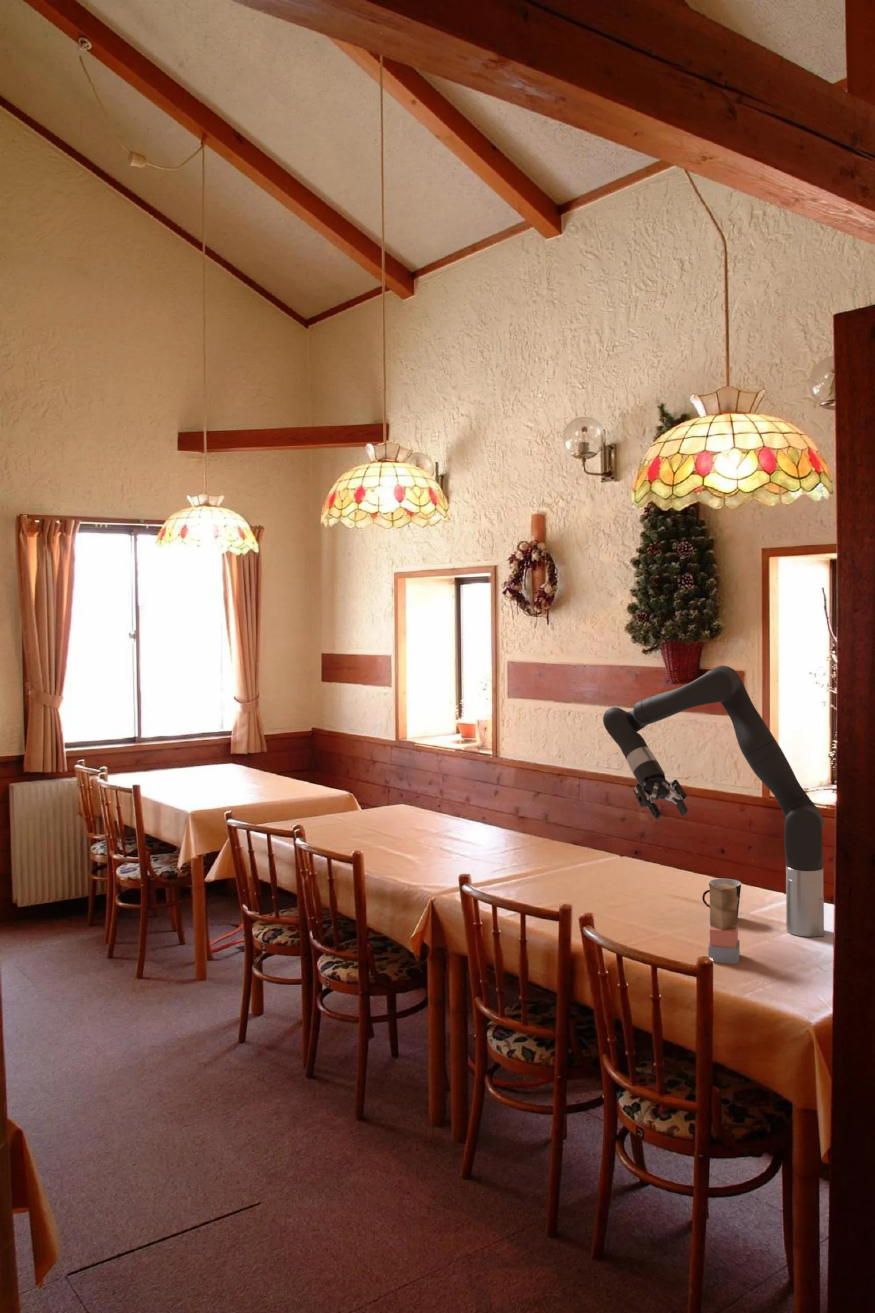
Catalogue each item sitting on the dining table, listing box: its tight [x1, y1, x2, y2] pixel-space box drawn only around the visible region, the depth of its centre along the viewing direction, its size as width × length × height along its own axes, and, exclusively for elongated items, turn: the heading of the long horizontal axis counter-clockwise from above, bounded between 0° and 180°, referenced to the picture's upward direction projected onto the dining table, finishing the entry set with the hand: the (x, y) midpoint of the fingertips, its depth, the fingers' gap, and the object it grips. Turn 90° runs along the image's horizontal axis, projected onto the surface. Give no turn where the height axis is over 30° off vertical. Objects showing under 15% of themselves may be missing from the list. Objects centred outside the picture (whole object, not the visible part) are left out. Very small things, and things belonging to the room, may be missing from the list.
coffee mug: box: [702, 878, 742, 920], centre depth 279 cm, size 12×9×10 cm
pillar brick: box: [709, 883, 738, 931], centre depth 248 cm, size 4×4×10 cm
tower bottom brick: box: [707, 939, 741, 965], centre depth 248 cm, size 7×7×4 cm
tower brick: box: [709, 924, 739, 948], centre depth 248 cm, size 6×6×4 cm
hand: (672, 815), depth 270 cm, fingers open, 8 cm apart
